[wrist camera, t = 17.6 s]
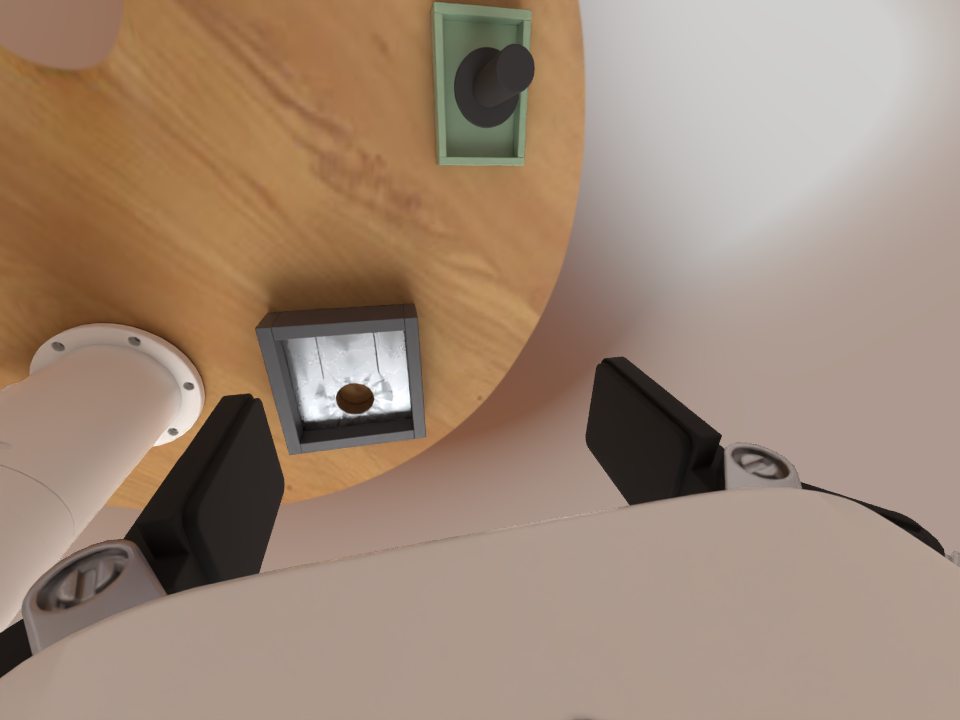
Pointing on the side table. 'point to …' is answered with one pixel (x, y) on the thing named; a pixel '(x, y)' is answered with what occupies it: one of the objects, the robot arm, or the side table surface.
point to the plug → (492, 83)
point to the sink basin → (334, 324)
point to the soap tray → (451, 43)
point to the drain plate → (349, 378)
